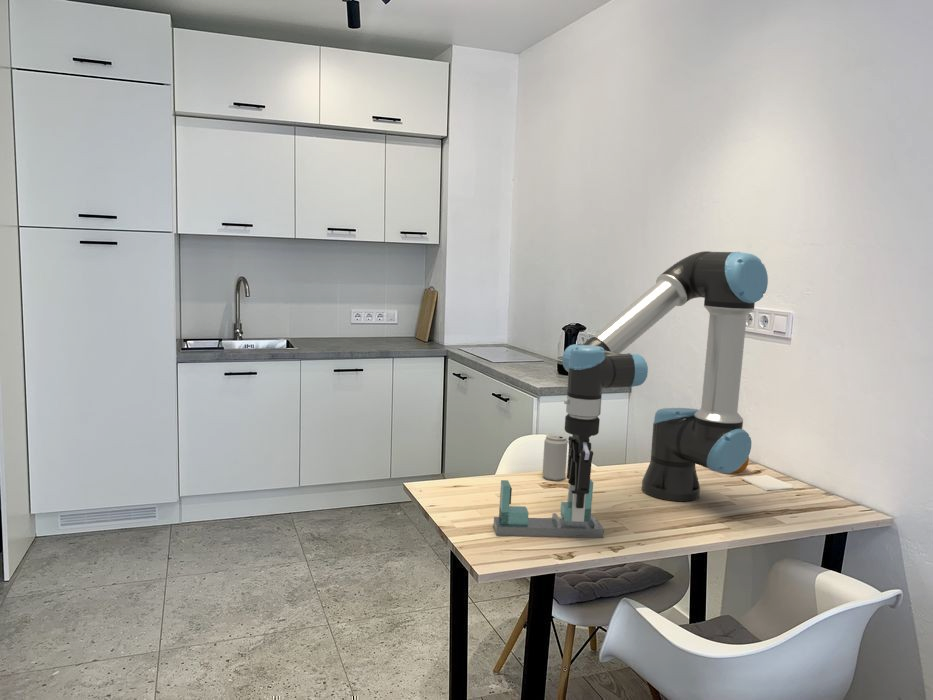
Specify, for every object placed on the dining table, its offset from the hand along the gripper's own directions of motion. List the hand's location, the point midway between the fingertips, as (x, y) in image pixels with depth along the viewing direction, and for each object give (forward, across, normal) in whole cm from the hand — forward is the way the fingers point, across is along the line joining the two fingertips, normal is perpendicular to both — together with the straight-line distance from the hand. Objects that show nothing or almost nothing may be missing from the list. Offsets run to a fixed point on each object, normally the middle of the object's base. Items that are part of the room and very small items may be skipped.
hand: (575, 516), depth 164 cm
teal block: (0, 0, 0) cm, 0 cm away
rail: (+4, 0, -6) cm, 7 cm away
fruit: (+4, -53, +59) cm, 79 cm away
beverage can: (+4, -40, +3) cm, 40 cm away
